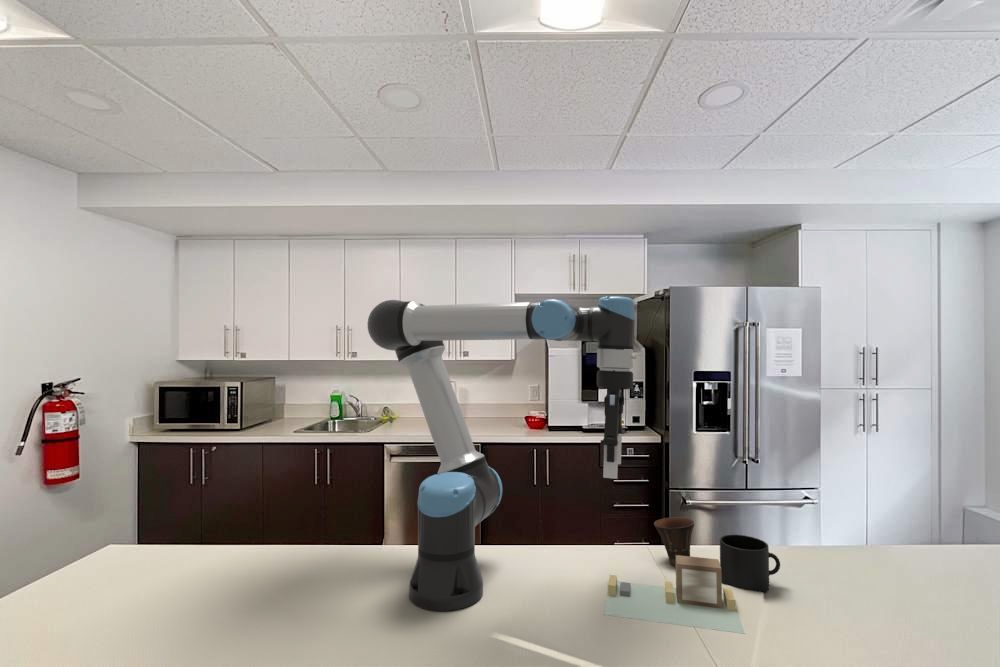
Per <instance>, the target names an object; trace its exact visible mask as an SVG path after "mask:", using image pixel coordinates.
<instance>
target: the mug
mask: <svg viewBox="0 0 1000 667" xmlns="http://www.w3.org/2000/svg"><path fill="white" fill-rule="evenodd" d="M769 558H771V559H774V560H773V561H775V567H774V568H773V569H771V570H770V560H769ZM719 563H720V566H721V578H722V585H726V586H729V587H733V588H736V589H738V590H739V589H740V590H744V591H751V592H752V591H754V592H758V593H763V594H766V593H768V591H769V590H770V576H773V575H775V574H777V573H778V572H779V570H780V568H781V562H780V559H779V558H778V556H777V555H776V554H775V553H772V552H769V545H768V543H767V542H766V541H764V540H761V539H759V538H757V537H753V536H749V535H745V534H726V535H723V536H721V537H720V538H719Z"/></svg>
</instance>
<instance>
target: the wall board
mask: <svg viewBox="0 0 1000 667" xmlns="http://www.w3.org/2000/svg"><path fill="white" fill-rule="evenodd" d="M605 598H606V599H605V604H604V611H603V616H609V617H617V618H626V619H630V620H631V619H632V620H640V621H647V622H654V623H662V624H668V625H669V624H670V625H676V626H677V625H678V626H683V627H689V628H691V627H692V628H699V629H705V630H713V631H720V632H728V633H735V634H743V635H745V634H746V633H745V629H744V627H743V624H742V622H741V619H740V615H739V613H738V610H737V606H736V598H735V595H734V592H733V590H732V588H730V587H729V588H728V587H722V609H721V608H713V607H705V606H697V605H689V604H681V603H677V595H676V587H674V584H673V581H668V580H667V581H666V580H665V581H664V586H661V585H655V584H654V585H653V584H644V583H635V582H627V581H620V580H618V575H616V574H615V575H614V574H609V578H608V582H607V591H606V597H605Z"/></svg>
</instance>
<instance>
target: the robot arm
mask: <svg viewBox="0 0 1000 667" xmlns="http://www.w3.org/2000/svg"><path fill="white" fill-rule="evenodd" d="M367 318H368V319H367V332H368V334H369V336H370V339H371V340H372V341H373V343H374V344H376V345H377V346H378V347H380V348H382V349H384V350H388V351H394V352H395V355H396V358H397V361H398V363H399V365H400V366H403V367H405V368H406V369H407V370H408V373H409V376H410V378H411V381H412V384H413V387H414V389H415V393H416V395H417V398H418V402H419V403H420V406H421V410H422V412H423V415H424V418H425V421H426V424H427V426H428V429H429V433H430V436H431V439H432V441H433V444H434V447H435V449H436V452H437V455H438V458H439V461H440V466H439V468H438V471H437V474H433V475H430V476H428V477H426V478H425V479H424V480H423V481H422V482H421V483H420V485H419V488H418V497H417V559H416V561H415V565H414V568H413V572H412V575H411V578H410V581H409V585H408V586H409V588H408V589H409V591H408V597H409V600H410V601H411V602H412V604H414V605H415V606H417V607H419V608H422V609H425V610H428V611H439V612H442V611H443V612H445V611H447V612H448V611H449V612H450V611H455V610H460V609H464V608H467V607H470V606H472V605H474V604H475V603H477V602H479V600H480V599H481V598H482V597H483V594H484V580H483V576H482V574H481V571H480V570H481V569H480V567H479V563H478V561H477V558H476V553H475V552H476V551H475V550H476V549H475V543H476V541H475V540H476V539H475V536H476V535H475V534H476V532H475V531H476V530H475V528H476V526H478V525H479V524H480V523H481V522H482V521H483V520H485V519H487V518H488V517H489V516H491V515H492V514H493V513H494V511H495V510H496V509H497V507H498V506H499V504H500V503H501V500H502V496H503V483H502V480H501V478H500V476H499V474H498V472H497V471H496V470H495V469H493V468H492V467H491V466H489V464H488V462H487V459H486V457H485V454H483V453H481V452H479V451H477V450H476V448H475V445H474V443H473V440H472V437H471V433H470V431H469V428H468V426H467V422H466V420H465V417H464V415H463V412H462V408H461V406H460V404H459V402H458V397H457V395H456V393H455V389H454V387H453V385H452V381H451V378H450V376H449V373H448V371H447V368H446V364H445V363H444V362H445V361H444V360H443V354H444V351H445V349H446V346H445V343H444V341H495V340H496V341H500V340H501V341H506V340H508V341H510V340H511V341H512V340H515V341H516V340H518V341H519V340H533V341H534V340H548V341H556V342H562V341H563V342H564V341H568V342H570V341H572V342H573V341H574V342H575V341H576V342H597V349H596V351H597V352H596V367H597V368H599V369H598V370H597V371H596V386H597V387H598V388H599V389H607V390H608V391H607V394H606V395H605V396H604V400H603V404H604V411H603V412H604V416H605V417H604V434H603V439H600V445H602V446H603V473H602V474H603V475H602V478H604V479H605V478H606V479H616V480H618V472H619V471H618V469H619V468H618V466H619V465H621V464H622V440H623V439H622V436H623V435H625V432H626V431H625V429H624V428H623V424H622V423H623V420H622V419H623V418H622V416H623V414H624V405H625V396H623V392H622V390H632V389H633V387H634V372H633V371H631V369H634V360H636V359H637V355H636V354H633V353H634V346H635V324H636V323H635V322H636V318H635V302H634V300H633V299H632V298H631V297H627V296H602V297H600V298H599V299H598V304H597V305H594V306H573V305H571V304H568V303H567V302H566V301H563V300H560V299H555V298H553V299H551V298H549V299H545V300H542V301H522V302H521V301H518V302H494V303H493V302H491V303H489V302H488V303H465V304H464V303H462V304H460V303H459V304H435V305H434V304H433V305H431V304H430V305H425V304H423V303H419V302H417V301H415V300H413V301H403V300H397V299H390V300H384V301H382V302H380V303H378V304H377V305H376V306H375V307H373V309H371V311H370V313H369V315H368V317H367Z"/></svg>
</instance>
